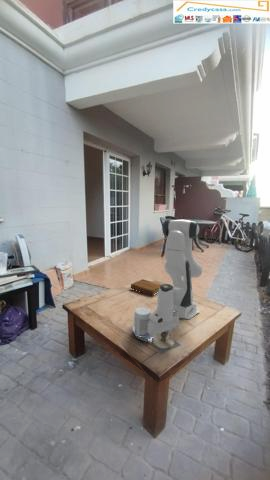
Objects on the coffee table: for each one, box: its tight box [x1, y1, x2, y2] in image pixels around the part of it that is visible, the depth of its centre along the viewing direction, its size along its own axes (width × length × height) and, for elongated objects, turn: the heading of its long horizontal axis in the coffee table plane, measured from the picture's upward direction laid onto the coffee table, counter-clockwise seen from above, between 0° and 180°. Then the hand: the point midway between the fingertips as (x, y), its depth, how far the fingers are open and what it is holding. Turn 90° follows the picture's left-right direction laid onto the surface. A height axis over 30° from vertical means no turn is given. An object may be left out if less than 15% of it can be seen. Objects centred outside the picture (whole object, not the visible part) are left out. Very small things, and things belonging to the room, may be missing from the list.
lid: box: [152, 331, 175, 349], centre depth 120 cm, size 12×12×6 cm
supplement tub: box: [133, 307, 152, 338], centre depth 128 cm, size 10×10×15 cm
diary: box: [130, 279, 163, 297], centre depth 196 cm, size 23×19×6 cm
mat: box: [147, 339, 181, 354], centre depth 121 cm, size 14×14×1 cm
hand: (163, 337), depth 121 cm, fingers closed on lid, 3 cm apart
